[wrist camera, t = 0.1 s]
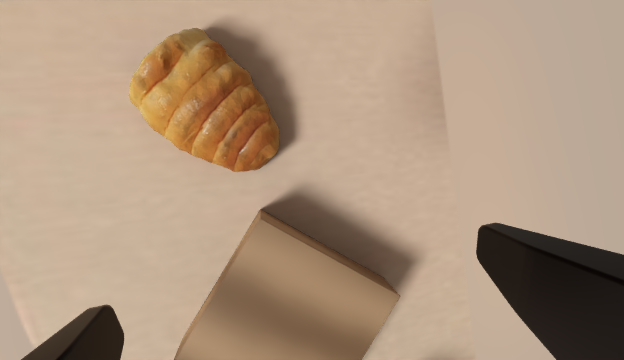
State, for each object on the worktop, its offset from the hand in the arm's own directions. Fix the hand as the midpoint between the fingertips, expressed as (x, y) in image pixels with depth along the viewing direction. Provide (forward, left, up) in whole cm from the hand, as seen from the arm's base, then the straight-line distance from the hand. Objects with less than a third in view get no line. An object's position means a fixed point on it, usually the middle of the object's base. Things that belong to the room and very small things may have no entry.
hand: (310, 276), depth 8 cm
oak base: (-7, -5, -15) cm, 18 cm away
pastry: (+3, +7, -16) cm, 18 cm away
